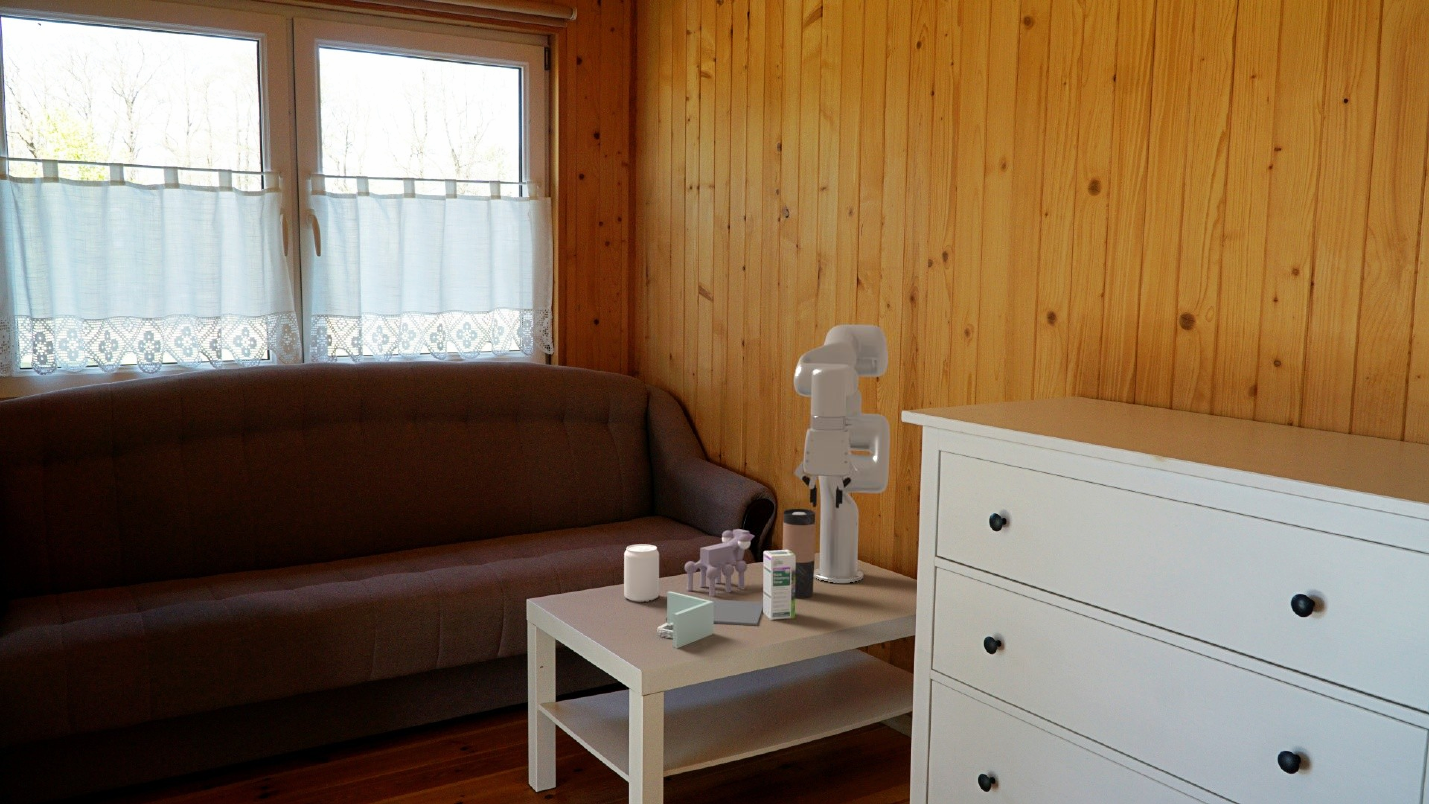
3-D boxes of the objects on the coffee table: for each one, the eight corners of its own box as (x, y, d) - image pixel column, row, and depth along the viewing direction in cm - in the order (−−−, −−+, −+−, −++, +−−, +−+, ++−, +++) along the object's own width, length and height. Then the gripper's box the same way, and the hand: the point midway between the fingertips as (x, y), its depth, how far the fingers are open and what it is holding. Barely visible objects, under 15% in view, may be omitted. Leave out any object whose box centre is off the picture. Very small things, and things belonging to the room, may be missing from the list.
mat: (679, 599, 251) (679, 597, 250) (764, 604, 248) (764, 602, 248) (666, 620, 235) (666, 618, 235) (756, 625, 232) (756, 623, 232)
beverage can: (632, 591, 257) (632, 542, 256) (663, 595, 254) (664, 545, 253) (618, 600, 249) (618, 550, 248) (650, 604, 247) (650, 553, 245)
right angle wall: (669, 624, 234) (670, 591, 233) (713, 636, 226) (713, 601, 226) (632, 638, 224) (632, 603, 223) (676, 650, 217) (677, 614, 216)
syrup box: (770, 620, 236) (771, 555, 234) (762, 612, 241) (763, 549, 240) (795, 618, 237) (796, 554, 236) (786, 611, 243) (787, 548, 241)
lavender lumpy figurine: (738, 574, 273) (741, 522, 271) (769, 585, 266) (772, 532, 264) (680, 589, 259) (683, 534, 257) (711, 601, 252) (714, 544, 250)
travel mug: (819, 593, 258) (821, 511, 255) (804, 600, 251) (805, 516, 249) (791, 588, 262) (793, 507, 260) (775, 595, 255) (777, 512, 253)
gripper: (867, 422, 236) (865, 504, 238) (790, 420, 238) (789, 501, 240) (866, 427, 228) (864, 511, 230) (787, 424, 231) (786, 508, 233)
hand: (826, 505), depth 235 cm, fingers open, 4 cm apart
